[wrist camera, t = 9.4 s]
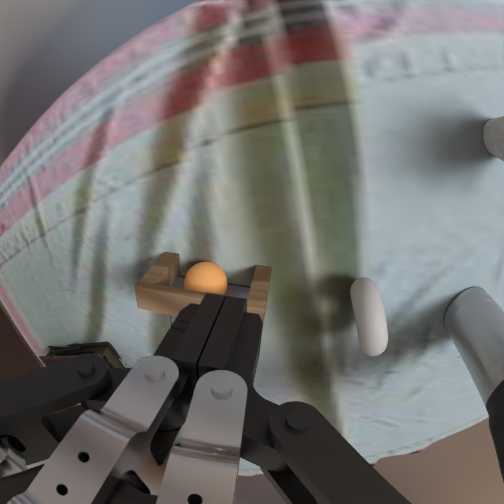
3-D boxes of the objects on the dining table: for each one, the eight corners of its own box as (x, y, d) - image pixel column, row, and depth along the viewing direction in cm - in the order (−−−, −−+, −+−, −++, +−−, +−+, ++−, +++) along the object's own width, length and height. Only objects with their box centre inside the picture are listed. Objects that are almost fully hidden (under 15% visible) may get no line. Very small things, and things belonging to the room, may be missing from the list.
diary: (155, 397, 55) (148, 414, 51) (88, 393, 62) (80, 405, 57) (108, 336, 49) (96, 353, 44) (47, 342, 55) (36, 354, 50)
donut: (343, 267, 36) (356, 313, 27) (368, 260, 35) (389, 304, 26) (354, 325, 39) (365, 375, 30) (376, 319, 38) (392, 368, 29)
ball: (219, 318, 35) (225, 293, 40) (227, 283, 32) (233, 259, 37) (177, 307, 35) (188, 283, 40) (181, 271, 32) (193, 249, 37)
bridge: (165, 251, 38) (134, 285, 30) (271, 267, 37) (265, 308, 29) (166, 271, 39) (137, 307, 31) (269, 286, 38) (261, 331, 30)
